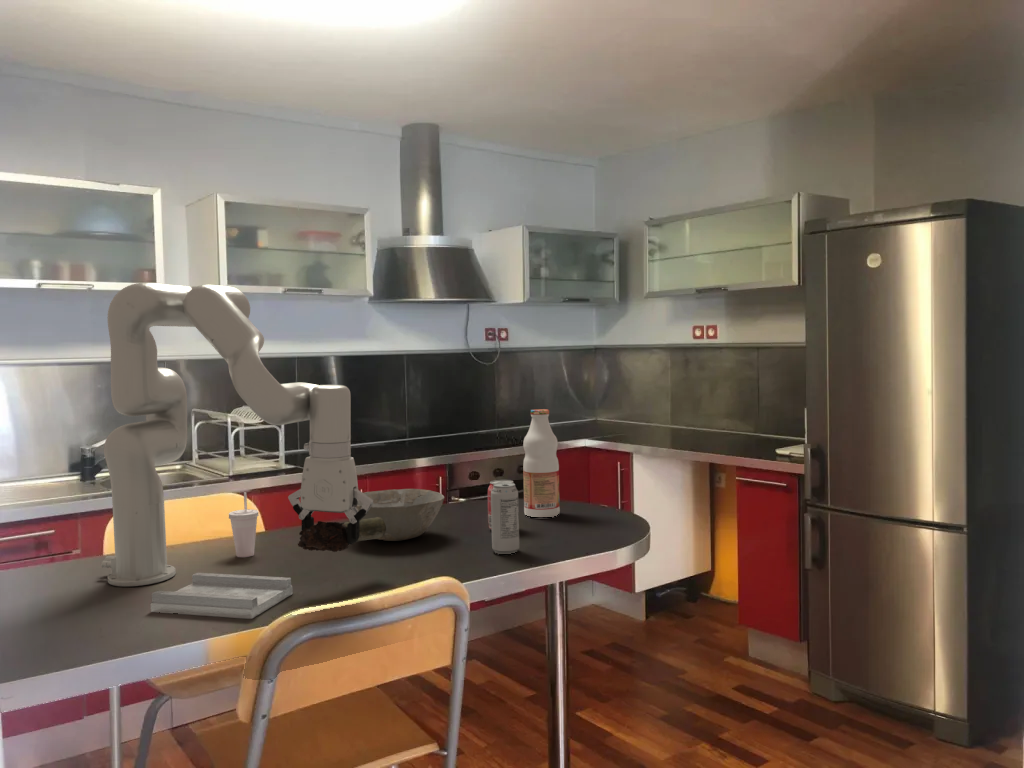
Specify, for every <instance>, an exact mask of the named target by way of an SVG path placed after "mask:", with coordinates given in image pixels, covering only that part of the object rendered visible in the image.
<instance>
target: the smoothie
mask: <svg viewBox="0 0 1024 768" xmlns="http://www.w3.org/2000/svg"><path fill="white" fill-rule="evenodd" d="M247 500H248V497H247V492H245V491H244V492H243V502H244V503H243V504H244V509H237V510H234V511H230V512H229V513H228V519H230V520H229V521H230V525H231V530H232V537H233V542H234V548H235V555H236V557H237V558H249V557H252V556H254V555H255V547H256V536H257V526H258V525H257V523H258V522H257V521H258V517H259V516H260V514H259V510H257V509H248V502H247Z"/></svg>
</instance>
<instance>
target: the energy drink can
mask: <svg viewBox="0 0 1024 768" xmlns="http://www.w3.org/2000/svg"><path fill="white" fill-rule="evenodd" d="M493 486H494V487H493V489H492V491H491V524H492V530H491V547H492V548H491V549H492V550H493V551H494V554H496V553H498V554H497V555H499V554H511V553H515V552H518V550H519V549H520V523H519V521H520V520H519V518H520V517H519V513H520V512H519V511H520V510H519V491H518V489H517V487H516V484H515V483H514V482H513V483H496V484H494V485H493ZM515 554H516V553H515ZM511 555H512V554H511Z"/></svg>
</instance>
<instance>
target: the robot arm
mask: <svg viewBox="0 0 1024 768" xmlns="http://www.w3.org/2000/svg"><path fill="white" fill-rule="evenodd" d="M249 301H250V300H249V299H248V298H247V296H246V294H245V293H243V292H242V291H241V290H240V289H238V288H237V287H234V286H227V285H219V284H218V285H217V284H202V285H198V286H195V285H180V284H179V285H178V284H170V283H169V284H168V283H161V282H138V283H132V284H129V285H126V286H125V287H122V288H121V289H120V290H119V291H118V292H117V293H116V294H115V295H114V297H113V298H112V299H111V302H110V303H109V306H108V310H107V328H108V335H109V342H110V343H109V344H110V393H111V402H112V406H113V408H114V410H116V412H117V413H119V414H120V415H123V416H127V417H141V416H145V421H137V422H131V423H126V424H123V425H121V426H118V427H116V428H114V429H113V430H112V431H111V432H110V433H109V434H108V435H107V437H106V439H105V442H104V448H103V451H104V452H103V454H104V459H105V463H106V466H107V471H108V474H109V479H110V480H109V481H110V487H111V504H112V519H113V521H112V522H113V537H114V539H113V540H114V555H106V556H105V557H104V560H102V561H101V562H100V563H101V564H100V566H101V568H107V569H109V568H110V569H111V570H110V571H111V572H110V574H108V575H107V583H108V584H109V585H112V586H115V587H138V586H139V587H140V586H148V585H152V584H153V585H154V584H157V583H162V582H164V581H166V580H169V579H171V578H173V577H174V576H175V575H176V573H177V572H176V567H175V566H173V565H170V564H168V556H167V555H168V554H167V533H166V511H165V493H164V487H163V483H162V480H161V478H160V476H159V473H158V472H157V468H156V467H159V466H163V465H167V464H170V463H173V462H175V461H177V460H178V459H180V458H181V457H182V456H183V454H184V453H185V450H186V447H187V445H188V444H187V443H188V394H187V388H186V385H185V383H184V380H183V379H182V377H181V376H180V375H179V374H178V373H177V372H176V371H175V370H173V369H170V368H167V367H159V365H158V347H157V343H156V340H155V338H154V336H153V334H152V331H151V330H150V329H151V327H181V328H182V327H183V328H184V327H186V328H188V327H190V328H196V329H197V331H198V332H199V333H200V334H201V335H202V337H204V338H205V340H206V341H207V342H208V343H209V344H210V345H211V347H213V349H215V350H216V352H217V353H218V354H219V355H220V357H222V359H224V361H225V362H226V363H227V365H228V371H229V377H230V379H231V382H232V385H233V387H234V389H235V391H236V393H237V394H238V395H239V397H240V399H242V400H243V402H245V403H246V405H247V406H248V408H250V409H251V410H252V412H253V413H255V415H256V416H257V417H259V418H260V419H261V420H262V421H263V422H266V424H270V425H272V426H284V425H288V424H293V423H299V422H304V421H309V441H308V442H307V443H306V442H305V443H304V444H303V449H304V451H308V455H309V456H307V457H305V459H304V462H303V463H304V464H303V470H302V475H301V485H300V488H299V489H298V490H296V491H294V492H292V493H290V494H289V495H288V496H287V498H288V500H289V502H290V505H291V506H292V509H293V511H294V512H295V513H296V514H297V516H298V519H299V520H301V531H302V530H304V529H305V528H306V527H307V528H308V529H309V528H310V527H311V526H313V525H315V518H314V516H312V515H313V513H314V512H318V513H319V512H321V513H335V514H345V516H346V518H348V521H349V522H350V523H348V525H347V543H348V544H349V545H353V544H355V543H358V542H359V541H358V538H359V521H360V520H362V518H363V517H364V516H365V515H366V514H367V513H368V511H369V509H370V508H371V506H372V504H373V500H372V499H371V498H369V497H368V496H366V495H365V494H364V493H365V492H362V491H361V490H359V485H358V475H357V467H356V462H355V459H354V457H352V456H351V454H352V452H351V449H352V448H351V447H352V445H351V439H352V435H351V429H352V428H351V426H352V424H351V422H352V421H351V413H352V412H351V408H352V407H351V402H352V401H351V398H352V397H351V391H350V388H349V387H348V386H346V385H343V384H320V385H319V384H314V383H308V382H304V381H303V382H288V383H280V382H279V381H278V380H277V379H276V378H275V377H274V376H273V374H272V373H270V371H269V370H268V369H267V367H266V366H265V365H264V363H263V362H262V360H261V357H260V351H261V350H262V348H263V346H264V343H265V336H264V335H263V333H262V332H261V331H260V330H259V329H258V328H257V327H256V326H255V325H254V324H253V322H252V321H251V320H250V319H249V318H250V315H251V305H250V302H249ZM358 500H359V501H360V502H362V504H363V505H362V508H361V510H359V511H358V510H357V508H356V507H357V505H358Z"/></svg>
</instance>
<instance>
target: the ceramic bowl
mask: <svg viewBox="0 0 1024 768" xmlns="http://www.w3.org/2000/svg"><path fill="white" fill-rule="evenodd" d="M363 493H364V494H365V495H366V496H368V497H369V498H371V499H372V500H373V504H372V506H371V508H370V509H369V511H368V513H367V514H366V515H365V516H364V517H363V518H362V520H363V519H369V518H376V517H380V518H382V519H383V520H384V522H385V525H386V532H385V534H384V536H383V537H381V538H377V539H376V540H378V541H381V540H383V541H385V542H399V541H400V542H401V541H405V540H406V541H407V540H410V539H414V538H417V537H420V536H422V535H423V534H424V533H425V532H426V531H427V530H428V528H430V527H431V525H432V523H434V520H435V519H436V517H437V515H438V514H439V512H440V510H441V508H442V506H443V503H444V501H445V496H444V495H443V494H442V493H440V492H437V491H435V490H434V491H433V490H430V489H421V488H402V489H383V490H375V491H366V492H363ZM362 505H363V504H362V502H360V501H359V500H358V505H357V507H356V508H357V510H358V511H359V510H361V508H362Z"/></svg>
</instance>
